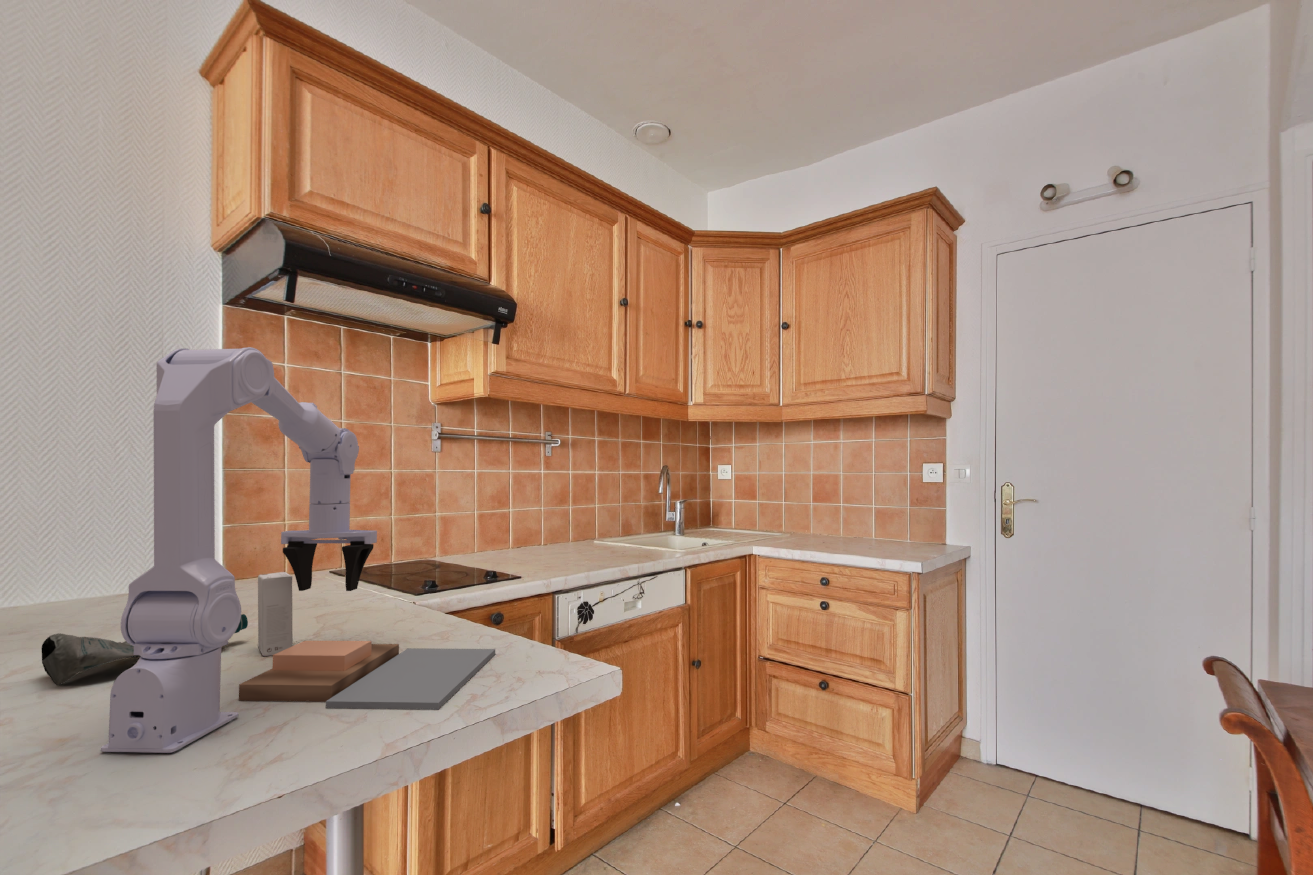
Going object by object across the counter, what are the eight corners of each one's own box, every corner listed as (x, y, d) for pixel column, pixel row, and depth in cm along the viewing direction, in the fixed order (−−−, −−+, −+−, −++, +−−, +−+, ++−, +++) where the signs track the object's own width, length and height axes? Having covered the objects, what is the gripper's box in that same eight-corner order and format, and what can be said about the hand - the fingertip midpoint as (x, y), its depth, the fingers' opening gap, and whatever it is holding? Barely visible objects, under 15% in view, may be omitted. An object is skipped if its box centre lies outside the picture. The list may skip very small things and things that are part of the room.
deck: (331, 701, 76) (331, 685, 76) (238, 700, 77) (239, 684, 77) (398, 657, 94) (398, 644, 94) (323, 656, 95) (323, 643, 95)
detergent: (47, 696, 79) (263, 646, 99) (47, 640, 80) (262, 601, 100) (29, 683, 87) (232, 640, 107) (29, 632, 87) (231, 598, 107)
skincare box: (293, 652, 97) (295, 575, 98) (260, 657, 95) (262, 578, 95) (287, 643, 102) (289, 570, 103) (255, 648, 99) (257, 573, 100)
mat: (438, 709, 74) (438, 702, 74) (325, 707, 74) (325, 701, 74) (495, 654, 96) (495, 648, 96) (407, 653, 96) (407, 648, 96)
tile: (344, 670, 82) (344, 655, 82) (272, 670, 82) (272, 655, 83) (371, 654, 89) (371, 640, 89) (304, 654, 89) (305, 640, 90)
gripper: (386, 501, 101) (385, 584, 100) (301, 502, 101) (299, 584, 101) (364, 504, 94) (362, 593, 93) (272, 504, 94) (270, 593, 94)
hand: (328, 589), depth 96 cm, fingers open, 7 cm apart
